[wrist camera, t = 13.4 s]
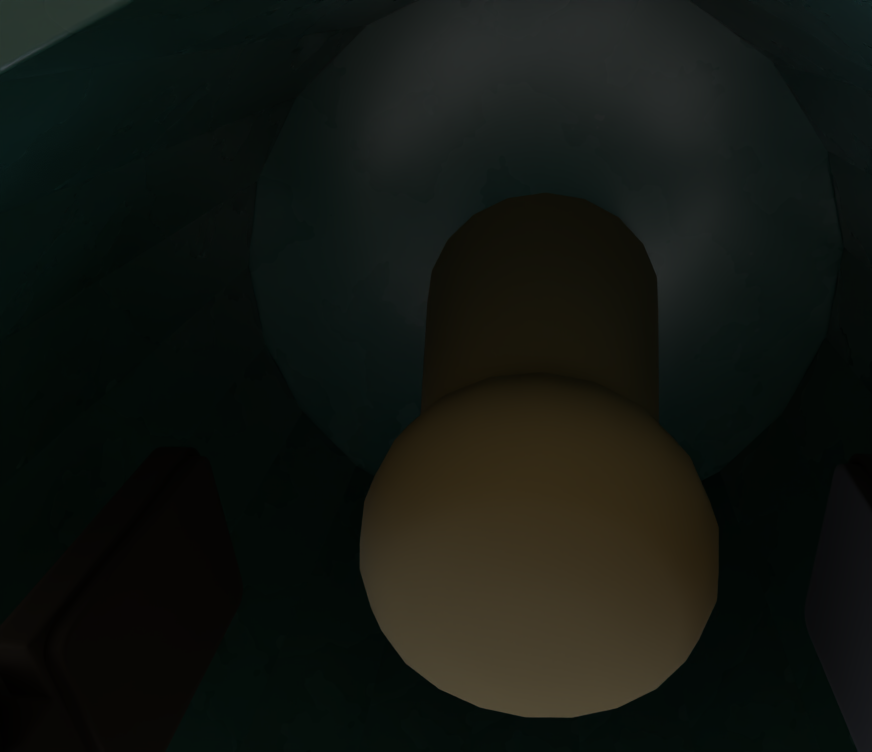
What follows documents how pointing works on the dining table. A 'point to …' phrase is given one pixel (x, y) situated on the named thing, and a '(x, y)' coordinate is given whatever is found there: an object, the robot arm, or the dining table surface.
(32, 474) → the tin
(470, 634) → the olive brown pawn
